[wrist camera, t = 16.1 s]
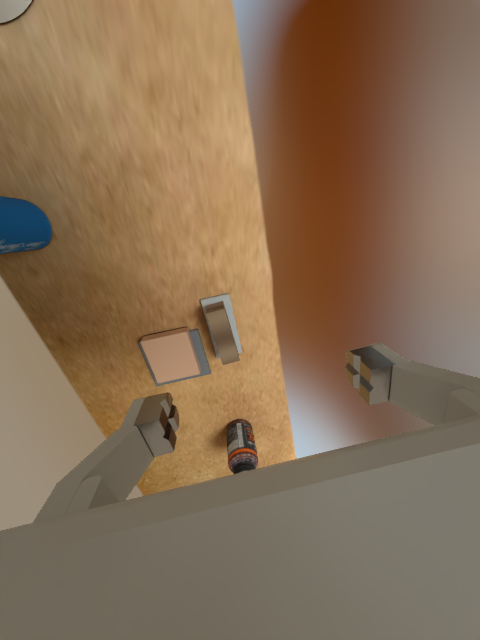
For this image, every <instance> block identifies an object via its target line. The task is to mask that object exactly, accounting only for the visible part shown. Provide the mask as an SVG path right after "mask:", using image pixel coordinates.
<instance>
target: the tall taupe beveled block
mask: <svg viewBox="0 0 480 640" xmlns="http://www.w3.org/2000/svg"><path fill="white" fill-rule="evenodd" d="M206 317H207V320H208V322H209V325H210V328H211V331H212V334H213V337H214V340H215V343H216V346H217V349H218V352H219V355H220V358H221V361H222V364H223V365H225V364H228V363H232V362H236V361H239V355H238V350H237V346H236V343H235V339H234V336H233V333H232V329H231V326H230V322H229V319H228V316H227V312H226V309H225V306H224V302H223V301H220V302H217V303H213V304H210V305H206Z"/></svg>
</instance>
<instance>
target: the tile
mask: <svg viewBox="0 0 480 640" xmlns="http://www.w3.org/2000/svg"><path fill="white" fill-rule="evenodd" d="M140 343H141V345H142V347H143V350H144V352H145V354H146V357H147V359H148V361H149V364H150V366H151V368H152V371H153V373H154V375H155V378H156V380H157V382H158V383H162V382H167V381H171V380H176V379H180V378H185V377H189V376H194V375H198V374H200V371H201V367H200V364H199V360H198V357H197V354H196V351H195V348H194V345H193V341H192V338H191V335H190V332H189V329H188V327H185V328H181V329H176V330H171V331H167V332H162V333H158V334H153V335H148V336H144V337H143V338H142V340H141V341H140Z"/></svg>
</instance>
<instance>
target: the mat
mask: <svg viewBox="0 0 480 640" xmlns="http://www.w3.org/2000/svg"><path fill="white" fill-rule="evenodd" d="M189 332H190V335H191V338H192V341H193V345H194V348H195V351H196V354H197V357H198V360H199V364H200V367H201V371H200V374H198V375H194V376H189V377H185V378H180V379H176V380H171V381H167V382H162V383H158V382H157V380H156V378H155V375H154V373H153V371H152V368H151V366H150V364H149V361H148V359H147V357H146V354H145V352H144V350H143V347H142V345H141V343H140V342H138V345H139V347H140V350H141V352H142V354H143V356H144V359H145V361H146V363H147V366H148V368H149V370H150V372H151V375H152V377H153V379H154V381H155V384H156V386H160V385H164V384H169V383H173V382H177V381H182V380H186V379H190V378H195V377H199V376H203V375H208V374H211V371H210V368H209V364H208V361H207V358H206V355H205V351H204V348H203V345H202V341H201V338H200V335H199V332H198V329H194V330H190V331H189Z"/></svg>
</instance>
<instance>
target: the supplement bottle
mask: <svg viewBox="0 0 480 640" xmlns="http://www.w3.org/2000/svg"><path fill="white" fill-rule="evenodd" d="M227 449H228V464H229V468H230V470H231V471H232V472H233V473H234V474H237V473H241V472H245V471H249V470H253V469H256V468H257V465H258V457H257V451H256V446H255V441H254V435H253V430H252V426H251V424H250V423H249V422H247V421H245V420H235V421H233V422H232V423H230V424H229V425H228V427H227Z"/></svg>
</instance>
